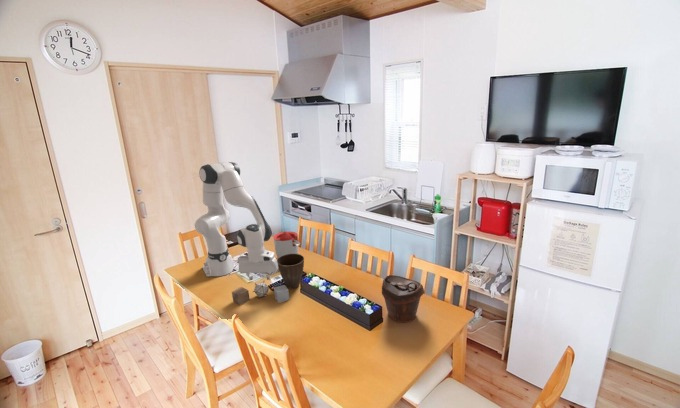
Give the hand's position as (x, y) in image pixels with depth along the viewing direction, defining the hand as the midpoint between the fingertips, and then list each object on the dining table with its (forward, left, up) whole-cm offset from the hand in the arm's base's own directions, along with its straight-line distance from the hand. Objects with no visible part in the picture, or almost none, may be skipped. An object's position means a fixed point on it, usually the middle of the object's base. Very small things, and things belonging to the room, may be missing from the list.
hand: (260, 279), depth 176 cm
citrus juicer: (-26, +35, -10) cm, 45 cm away
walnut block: (-4, -10, -10) cm, 15 cm away
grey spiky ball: (0, 0, -10) cm, 10 cm away
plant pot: (+3, +18, -10) cm, 21 cm away
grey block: (+10, +6, -10) cm, 15 cm away
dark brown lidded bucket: (+64, +38, -10) cm, 75 cm away
